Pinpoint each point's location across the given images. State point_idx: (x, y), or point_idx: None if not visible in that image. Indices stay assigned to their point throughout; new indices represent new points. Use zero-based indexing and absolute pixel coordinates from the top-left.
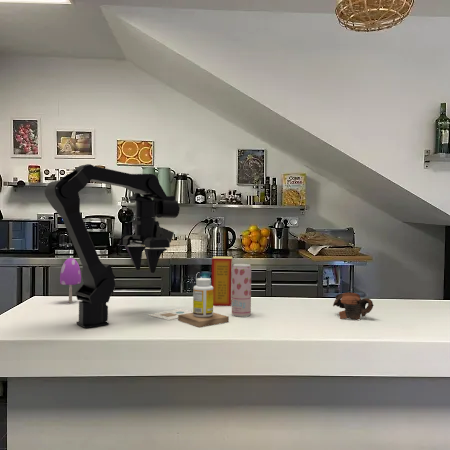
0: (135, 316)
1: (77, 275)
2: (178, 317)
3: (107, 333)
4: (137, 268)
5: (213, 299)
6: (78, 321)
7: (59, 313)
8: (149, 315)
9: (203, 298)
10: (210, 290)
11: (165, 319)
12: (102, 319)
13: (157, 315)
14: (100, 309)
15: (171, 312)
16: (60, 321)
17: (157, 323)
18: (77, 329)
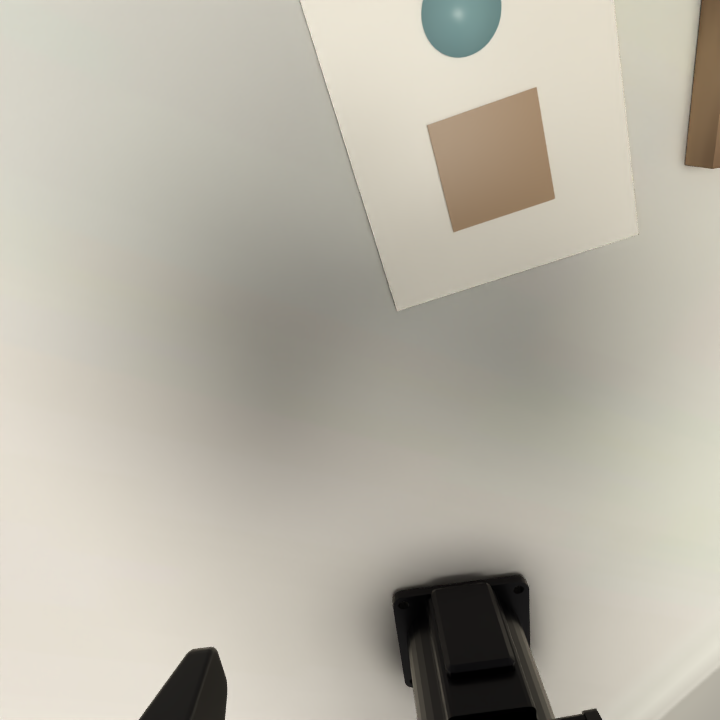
0: (378, 395)
1: None
2: (704, 166)
3: (671, 605)
4: (220, 699)
5: None
6: (406, 680)
7: (104, 704)
8: (412, 305)
9: None
10: None
11: (598, 245)
12: (513, 622)
13: (458, 256)
14: (543, 689)
15: (409, 91)
16: (310, 716)
17: (660, 338)
18: None
